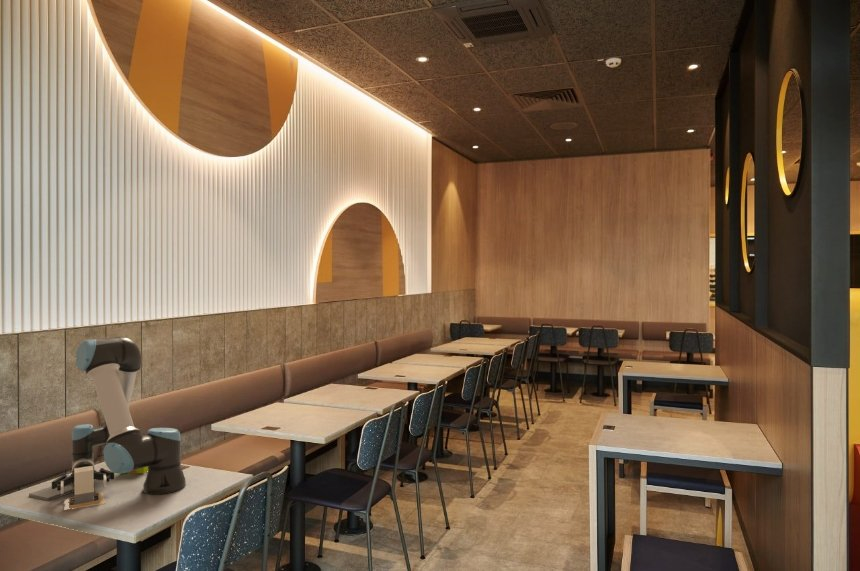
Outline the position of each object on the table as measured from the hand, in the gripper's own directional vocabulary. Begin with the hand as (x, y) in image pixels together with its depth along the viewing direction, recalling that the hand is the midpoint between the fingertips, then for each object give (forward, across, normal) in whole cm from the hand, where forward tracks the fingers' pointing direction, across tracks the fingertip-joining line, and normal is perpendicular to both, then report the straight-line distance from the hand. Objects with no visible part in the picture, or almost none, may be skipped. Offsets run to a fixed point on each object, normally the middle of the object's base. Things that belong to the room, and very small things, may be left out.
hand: (84, 486), depth 213 cm
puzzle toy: (-33, -21, -7) cm, 39 cm away
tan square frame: (-3, 0, -6) cm, 7 cm away
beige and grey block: (-3, 0, -6) cm, 7 cm away
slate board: (-19, +10, -6) cm, 23 cm away
